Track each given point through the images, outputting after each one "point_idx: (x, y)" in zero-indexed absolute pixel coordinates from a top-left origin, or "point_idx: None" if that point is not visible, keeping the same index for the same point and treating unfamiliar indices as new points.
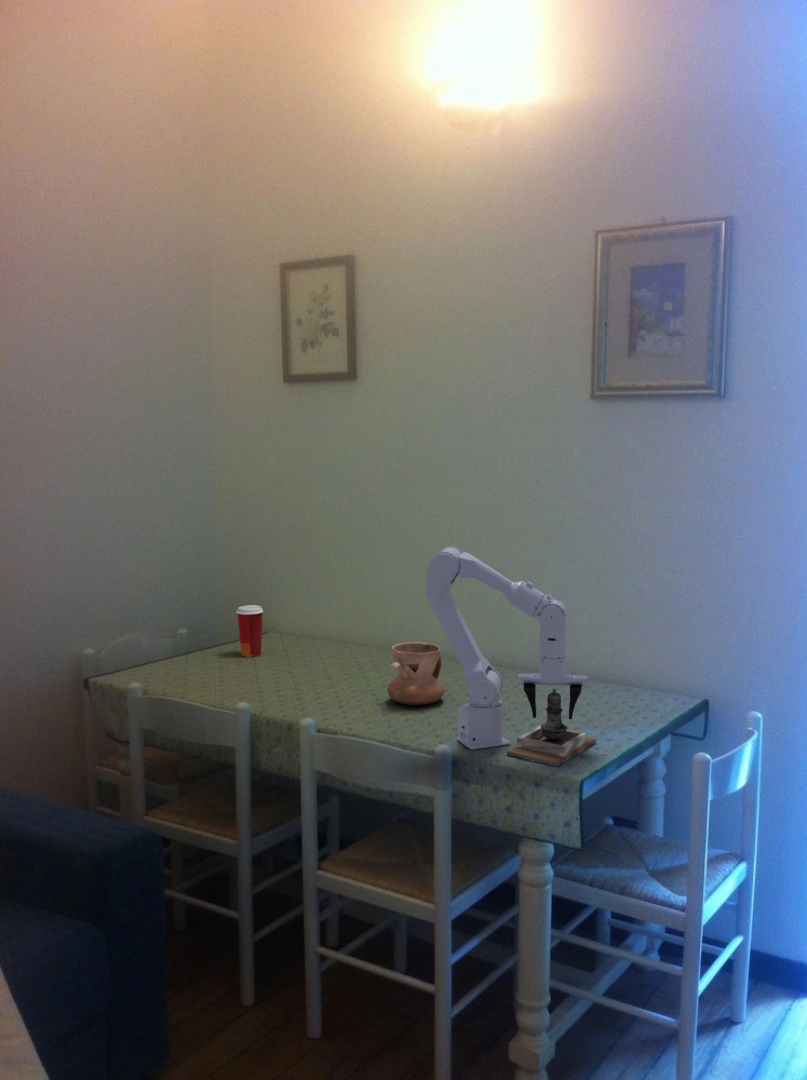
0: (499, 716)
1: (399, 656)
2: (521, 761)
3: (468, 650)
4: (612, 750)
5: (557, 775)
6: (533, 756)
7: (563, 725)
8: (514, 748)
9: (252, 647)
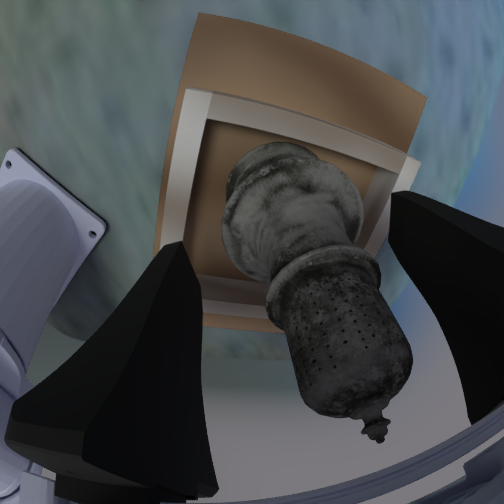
0: (40, 316)
1: None
2: (208, 327)
3: None
4: (453, 160)
5: None
6: (240, 327)
7: (348, 232)
8: None
9: None
